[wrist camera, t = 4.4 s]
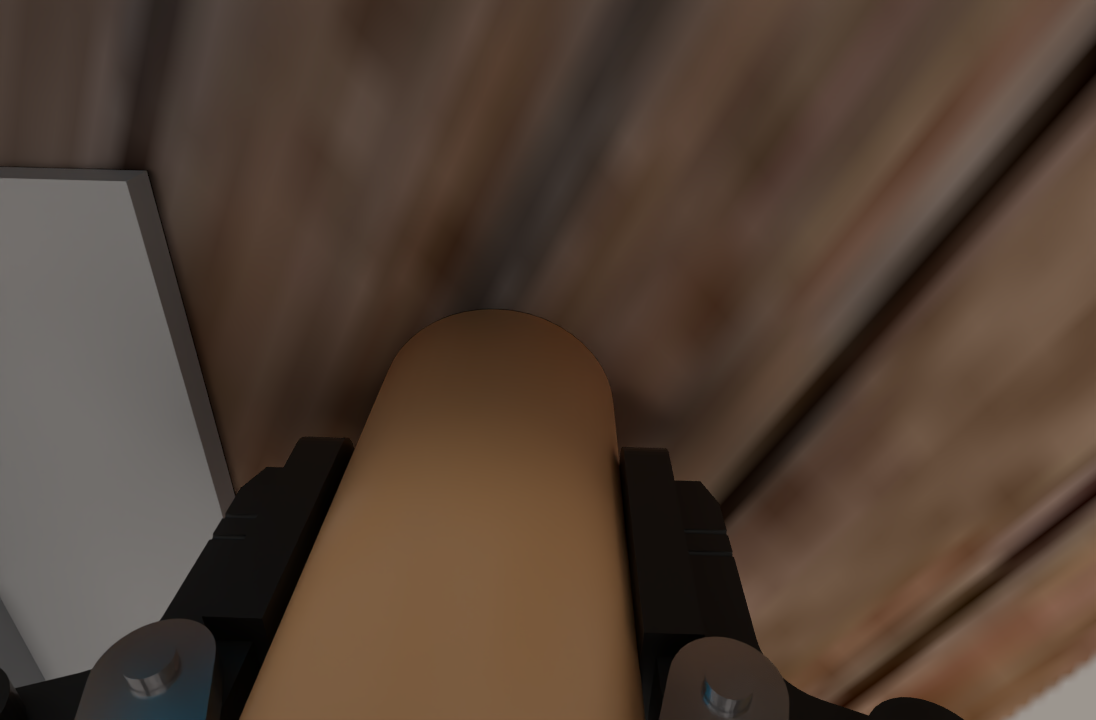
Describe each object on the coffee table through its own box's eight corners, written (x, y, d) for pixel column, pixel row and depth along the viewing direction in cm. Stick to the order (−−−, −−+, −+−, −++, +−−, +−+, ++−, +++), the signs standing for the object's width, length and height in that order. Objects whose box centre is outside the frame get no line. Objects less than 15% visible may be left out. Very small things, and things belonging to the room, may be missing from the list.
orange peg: (370, 305, 12) (114, 765, 5) (622, 313, 12) (692, 786, 5) (393, 497, 14) (234, 995, 8) (606, 504, 14) (641, 1011, 8)
